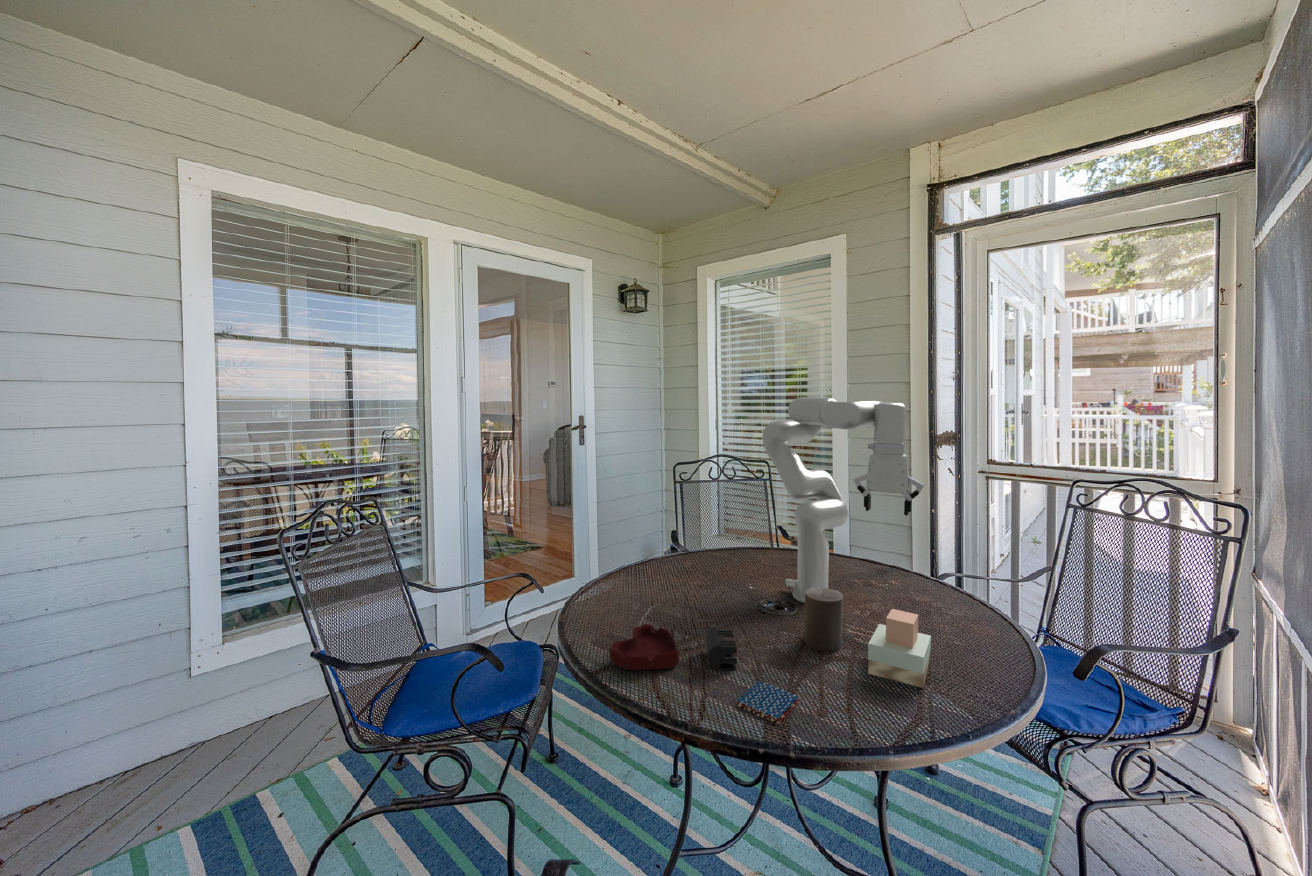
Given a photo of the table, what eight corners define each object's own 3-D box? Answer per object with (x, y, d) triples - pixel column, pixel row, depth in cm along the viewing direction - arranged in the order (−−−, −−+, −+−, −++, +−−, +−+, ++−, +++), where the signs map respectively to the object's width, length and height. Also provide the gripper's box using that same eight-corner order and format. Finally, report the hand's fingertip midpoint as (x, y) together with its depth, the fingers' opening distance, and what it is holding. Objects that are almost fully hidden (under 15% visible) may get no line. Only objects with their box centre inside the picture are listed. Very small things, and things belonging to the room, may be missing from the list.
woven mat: (779, 728, 111) (779, 719, 110) (735, 708, 117) (735, 699, 117) (801, 704, 119) (801, 695, 118) (759, 686, 125) (759, 678, 125)
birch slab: (868, 675, 129) (868, 659, 129) (877, 653, 139) (877, 638, 139) (923, 690, 123) (924, 673, 122) (928, 665, 133) (929, 650, 132)
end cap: (705, 650, 141) (704, 626, 140) (732, 650, 141) (732, 626, 140) (708, 671, 131) (707, 645, 131) (737, 671, 131) (736, 645, 130)
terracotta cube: (885, 641, 129) (886, 617, 128) (891, 631, 134) (891, 608, 133) (912, 648, 126) (913, 624, 125) (917, 638, 130) (918, 614, 130)
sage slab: (867, 659, 129) (868, 643, 128) (878, 638, 139) (879, 623, 138) (923, 674, 122) (923, 657, 122) (930, 651, 132) (931, 635, 132)
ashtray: (659, 687, 126) (659, 667, 125) (603, 668, 134) (603, 649, 133) (694, 653, 141) (694, 634, 140) (642, 638, 149) (642, 621, 149)
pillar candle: (822, 655, 138) (824, 599, 136) (796, 639, 146) (797, 586, 144) (849, 646, 142) (851, 592, 140) (822, 631, 151) (824, 579, 149)
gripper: (851, 449, 144) (850, 511, 146) (923, 453, 135) (920, 519, 137) (858, 445, 150) (856, 505, 152) (926, 449, 141) (924, 513, 143)
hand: (886, 512), depth 144 cm, fingers open, 9 cm apart
